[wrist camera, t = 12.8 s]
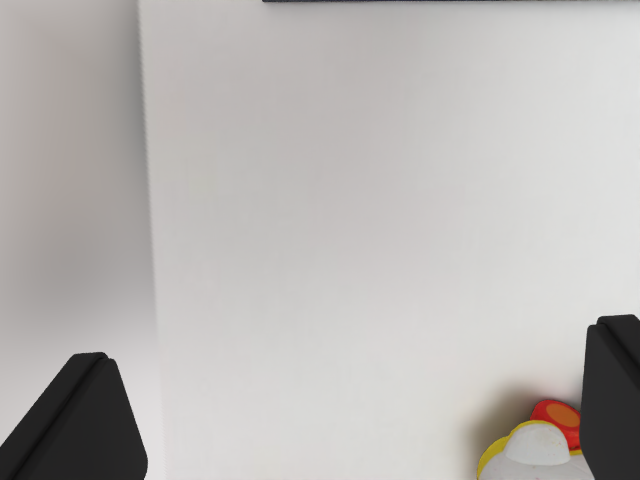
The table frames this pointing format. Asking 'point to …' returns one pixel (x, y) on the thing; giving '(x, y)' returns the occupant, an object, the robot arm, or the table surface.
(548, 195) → the table surface
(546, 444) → the toy airplane
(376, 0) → the mat
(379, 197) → the table surface
